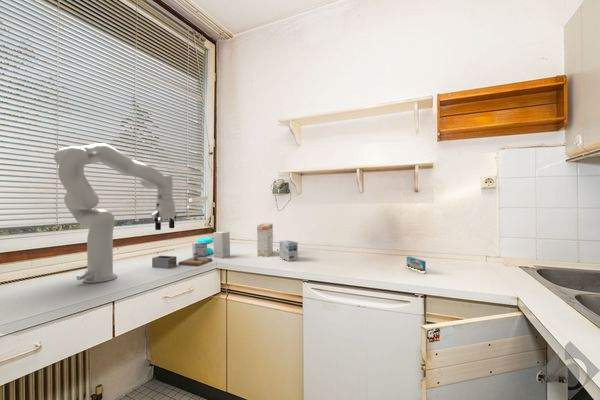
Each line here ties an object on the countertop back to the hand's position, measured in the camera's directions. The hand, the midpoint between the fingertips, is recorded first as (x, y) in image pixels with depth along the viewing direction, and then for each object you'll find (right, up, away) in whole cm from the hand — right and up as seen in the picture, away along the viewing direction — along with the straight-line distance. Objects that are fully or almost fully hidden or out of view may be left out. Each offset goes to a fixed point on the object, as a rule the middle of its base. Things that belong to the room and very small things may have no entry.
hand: (165, 229), depth 159 cm
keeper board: (+15, -20, +6) cm, 25 cm away
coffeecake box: (+51, -20, +31) cm, 63 cm away
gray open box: (+1, -20, -3) cm, 20 cm away
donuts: (+11, -20, +33) cm, 40 cm away
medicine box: (+11, -20, +24) cm, 33 cm away
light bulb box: (+67, -20, +15) cm, 71 cm away
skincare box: (+25, -20, +22) cm, 39 cm away
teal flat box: (+132, -20, -12) cm, 134 cm away
